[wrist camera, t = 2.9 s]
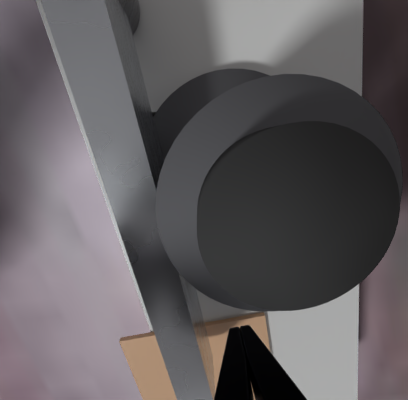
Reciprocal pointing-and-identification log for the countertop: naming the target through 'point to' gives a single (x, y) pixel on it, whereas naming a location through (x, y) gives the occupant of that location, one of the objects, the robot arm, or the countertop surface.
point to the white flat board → (271, 65)
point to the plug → (274, 188)
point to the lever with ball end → (131, 173)
